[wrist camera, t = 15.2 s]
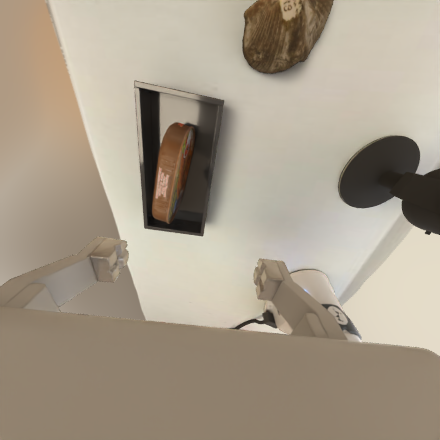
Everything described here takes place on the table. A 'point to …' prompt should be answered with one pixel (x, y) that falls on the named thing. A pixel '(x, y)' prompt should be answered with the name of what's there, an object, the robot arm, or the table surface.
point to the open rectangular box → (201, 157)
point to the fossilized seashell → (282, 32)
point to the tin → (172, 170)
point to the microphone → (393, 181)
